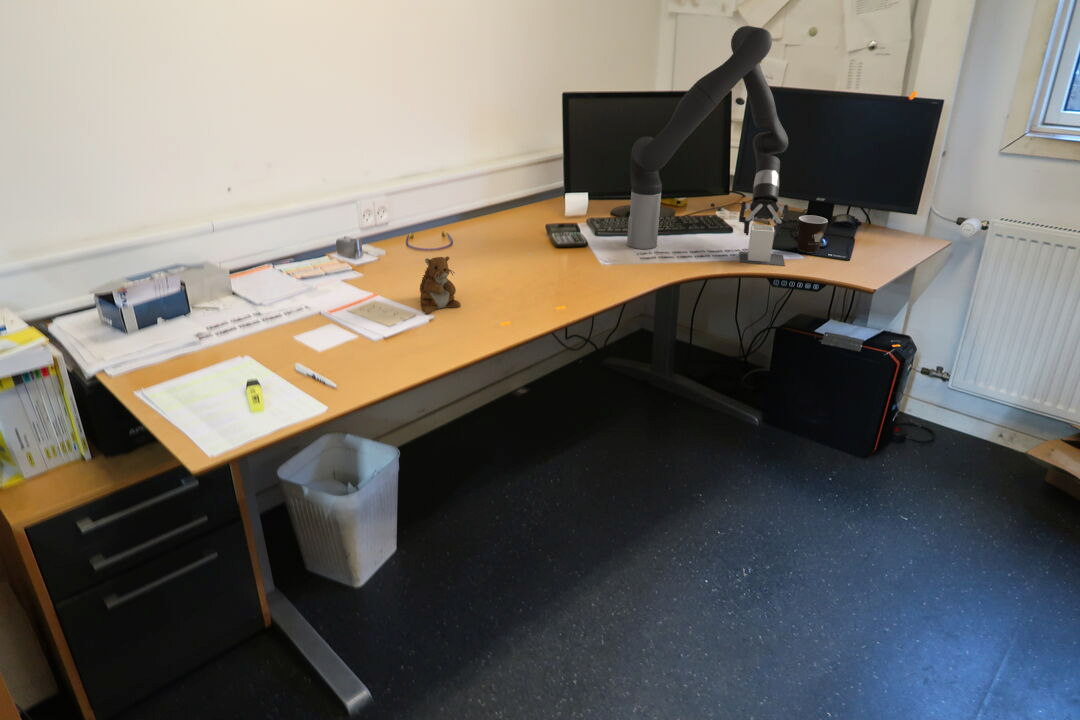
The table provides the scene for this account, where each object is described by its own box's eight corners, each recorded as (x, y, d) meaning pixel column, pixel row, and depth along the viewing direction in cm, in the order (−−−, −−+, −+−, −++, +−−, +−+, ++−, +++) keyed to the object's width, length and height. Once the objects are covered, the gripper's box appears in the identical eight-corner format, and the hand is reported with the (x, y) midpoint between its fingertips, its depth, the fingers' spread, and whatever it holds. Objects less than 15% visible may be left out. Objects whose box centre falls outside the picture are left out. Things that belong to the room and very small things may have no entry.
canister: (747, 260, 226) (752, 229, 221) (747, 253, 231) (751, 223, 227) (769, 262, 224) (774, 231, 220) (768, 255, 230) (773, 225, 226)
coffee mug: (818, 246, 239) (824, 216, 234) (824, 255, 231) (831, 223, 227) (781, 244, 240) (786, 214, 235) (786, 253, 232) (791, 222, 228)
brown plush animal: (426, 316, 186) (423, 266, 180) (410, 296, 198) (406, 249, 192) (463, 310, 190) (462, 261, 184) (446, 291, 201) (443, 244, 195)
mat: (740, 262, 224) (740, 261, 224) (739, 251, 233) (739, 251, 233) (784, 266, 222) (785, 265, 222) (782, 255, 231) (783, 254, 230)
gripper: (743, 180, 227) (738, 227, 222) (792, 183, 224) (788, 231, 220) (741, 193, 234) (736, 239, 229) (788, 196, 231) (784, 243, 227)
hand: (761, 235), depth 225 cm, fingers open, 8 cm apart
